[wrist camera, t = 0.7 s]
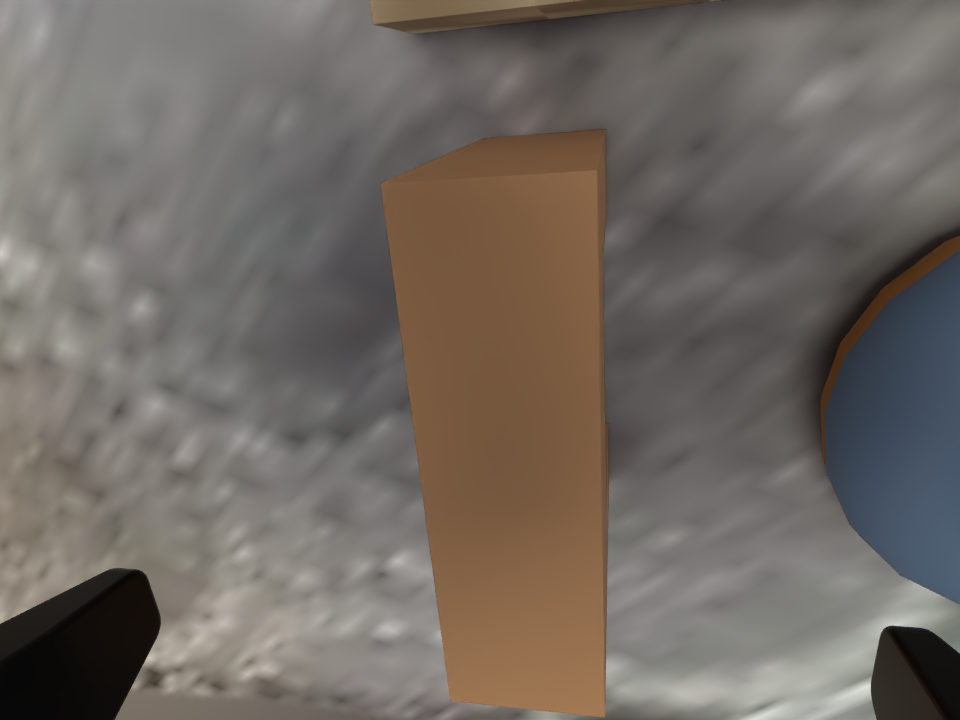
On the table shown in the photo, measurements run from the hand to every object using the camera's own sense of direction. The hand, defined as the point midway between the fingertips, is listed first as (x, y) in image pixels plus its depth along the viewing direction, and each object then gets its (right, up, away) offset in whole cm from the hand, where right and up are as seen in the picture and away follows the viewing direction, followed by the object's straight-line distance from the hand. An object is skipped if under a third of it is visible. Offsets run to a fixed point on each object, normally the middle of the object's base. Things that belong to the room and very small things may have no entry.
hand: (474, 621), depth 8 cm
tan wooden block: (+2, +4, +10) cm, 11 cm away
